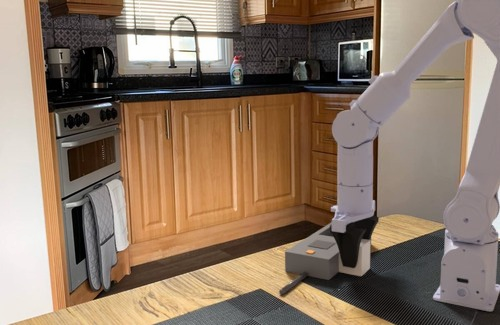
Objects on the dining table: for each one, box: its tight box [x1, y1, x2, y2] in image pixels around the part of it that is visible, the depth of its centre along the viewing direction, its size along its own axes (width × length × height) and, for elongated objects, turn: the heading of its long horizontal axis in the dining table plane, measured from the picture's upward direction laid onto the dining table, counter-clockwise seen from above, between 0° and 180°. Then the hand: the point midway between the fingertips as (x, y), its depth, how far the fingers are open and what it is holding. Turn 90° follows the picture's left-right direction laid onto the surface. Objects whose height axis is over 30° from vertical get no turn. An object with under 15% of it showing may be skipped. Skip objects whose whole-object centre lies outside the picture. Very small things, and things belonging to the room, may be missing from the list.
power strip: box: [278, 221, 372, 295], centre depth 89 cm, size 29×8×4 cm, turn 147°
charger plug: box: [338, 239, 371, 277], centre depth 86 cm, size 4×4×5 cm
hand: (354, 262), depth 86 cm, fingers closed on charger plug, 4 cm apart
